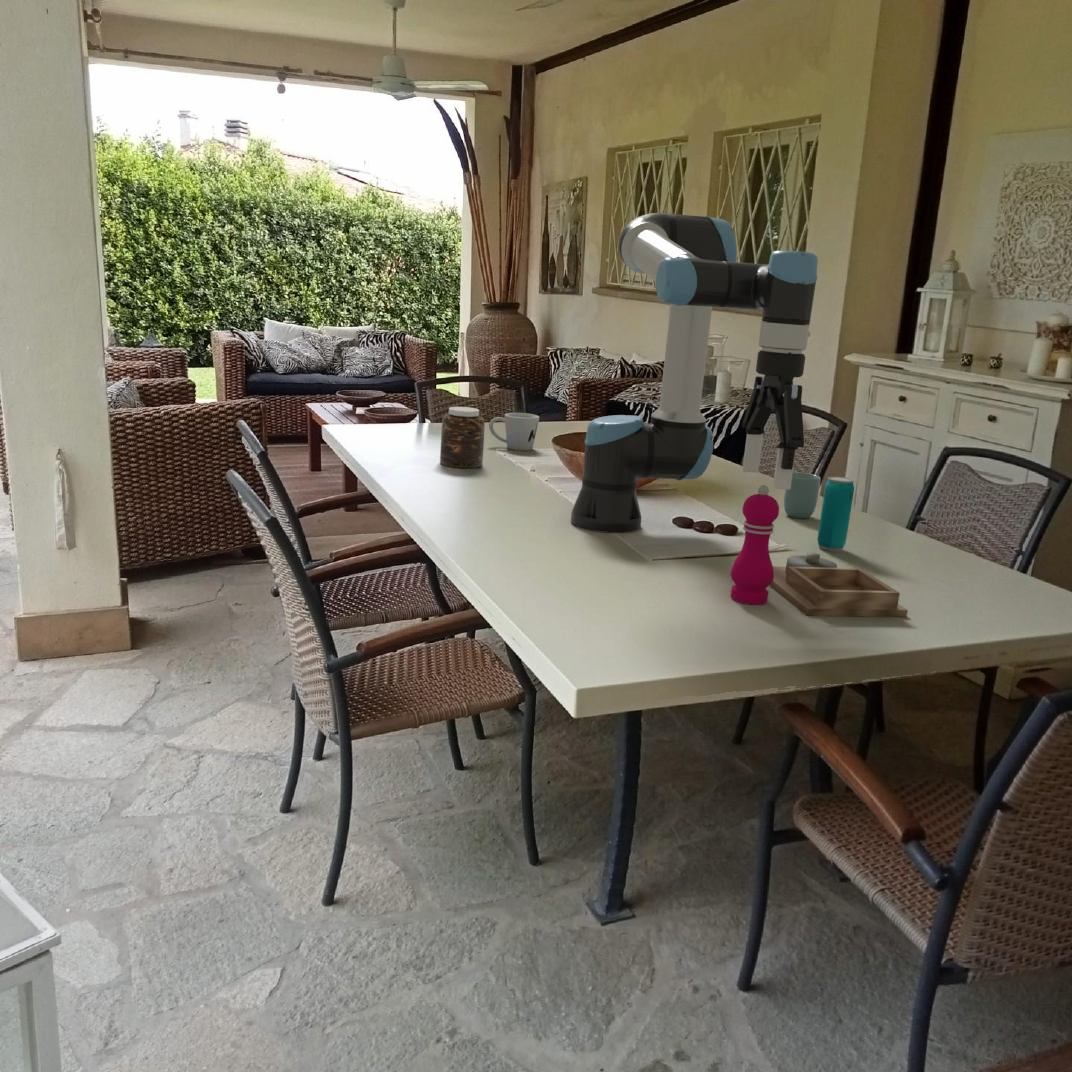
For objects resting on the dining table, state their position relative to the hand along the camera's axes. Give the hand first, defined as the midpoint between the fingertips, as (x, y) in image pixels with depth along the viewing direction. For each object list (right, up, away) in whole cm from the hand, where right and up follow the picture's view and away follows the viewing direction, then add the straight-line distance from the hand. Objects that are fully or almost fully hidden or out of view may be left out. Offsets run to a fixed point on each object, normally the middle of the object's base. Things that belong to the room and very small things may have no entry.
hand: (765, 480), depth 166 cm
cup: (+24, -5, +71) cm, 75 cm away
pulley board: (+14, -20, +12) cm, 27 cm away
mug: (-45, +17, +134) cm, 143 cm away
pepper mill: (-2, -20, +6) cm, 21 cm away
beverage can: (+24, -12, +43) cm, 51 cm away
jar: (-58, +10, +103) cm, 119 cm away
